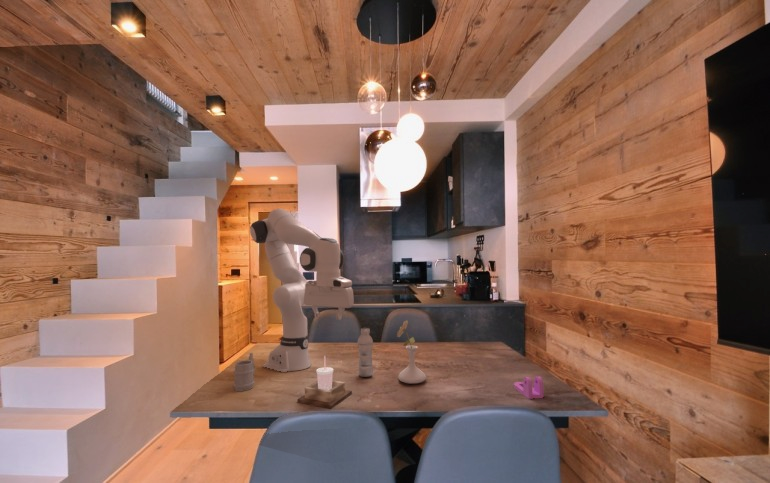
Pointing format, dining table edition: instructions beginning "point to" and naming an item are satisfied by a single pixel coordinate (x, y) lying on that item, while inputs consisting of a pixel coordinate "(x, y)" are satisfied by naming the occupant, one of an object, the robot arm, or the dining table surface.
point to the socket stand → (325, 395)
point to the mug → (244, 374)
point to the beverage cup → (325, 377)
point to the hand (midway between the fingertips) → (328, 318)
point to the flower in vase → (410, 361)
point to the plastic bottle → (365, 353)
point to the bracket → (530, 387)
